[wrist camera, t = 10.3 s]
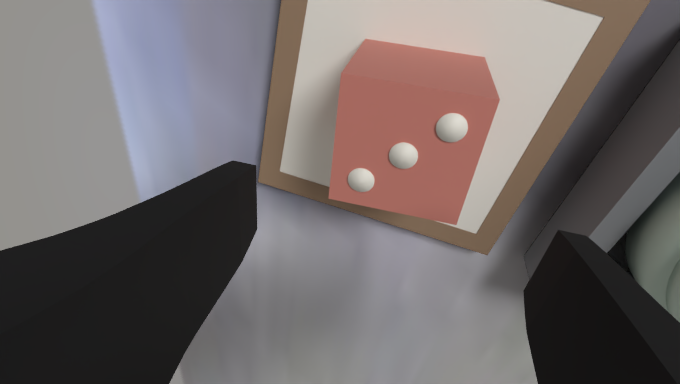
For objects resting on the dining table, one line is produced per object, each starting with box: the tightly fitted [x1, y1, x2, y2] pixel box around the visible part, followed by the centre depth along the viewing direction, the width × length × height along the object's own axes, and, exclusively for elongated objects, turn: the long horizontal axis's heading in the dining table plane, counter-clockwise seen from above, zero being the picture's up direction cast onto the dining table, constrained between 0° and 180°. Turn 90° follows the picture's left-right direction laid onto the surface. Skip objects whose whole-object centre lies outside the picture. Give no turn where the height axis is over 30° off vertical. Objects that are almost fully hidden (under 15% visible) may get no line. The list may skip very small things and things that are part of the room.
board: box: [258, 0, 650, 255], centre depth 16 cm, size 12×12×1 cm
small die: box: [328, 39, 500, 225], centre depth 14 cm, size 4×4×5 cm
